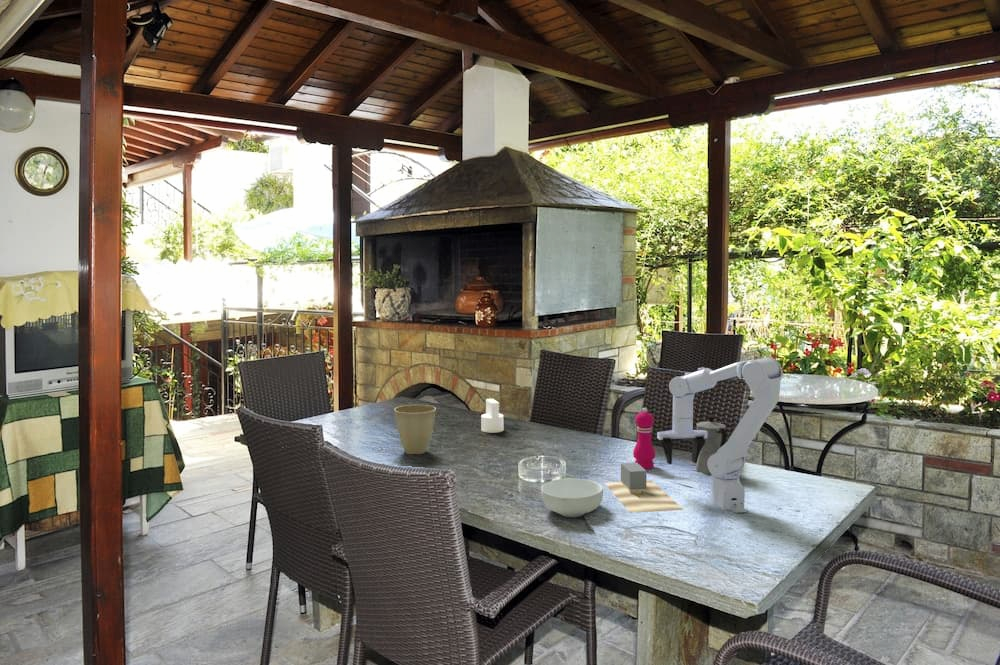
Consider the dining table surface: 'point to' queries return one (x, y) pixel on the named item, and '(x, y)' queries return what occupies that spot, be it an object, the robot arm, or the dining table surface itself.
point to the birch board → (643, 498)
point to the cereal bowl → (572, 496)
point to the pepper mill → (644, 440)
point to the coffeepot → (710, 442)
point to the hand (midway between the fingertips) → (681, 462)
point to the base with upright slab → (492, 418)
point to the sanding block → (633, 477)
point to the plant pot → (415, 426)
